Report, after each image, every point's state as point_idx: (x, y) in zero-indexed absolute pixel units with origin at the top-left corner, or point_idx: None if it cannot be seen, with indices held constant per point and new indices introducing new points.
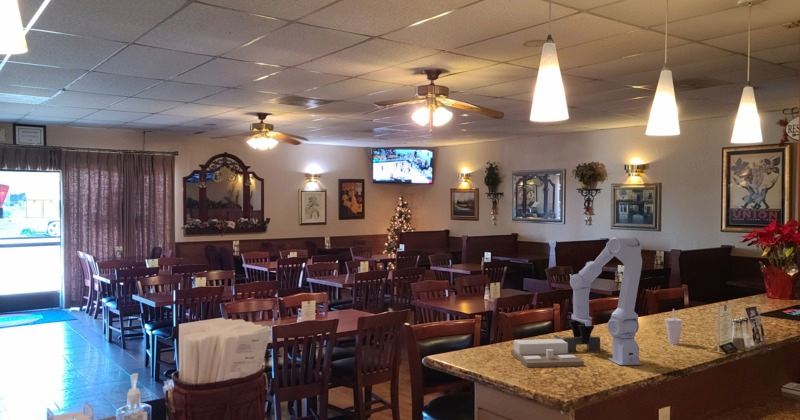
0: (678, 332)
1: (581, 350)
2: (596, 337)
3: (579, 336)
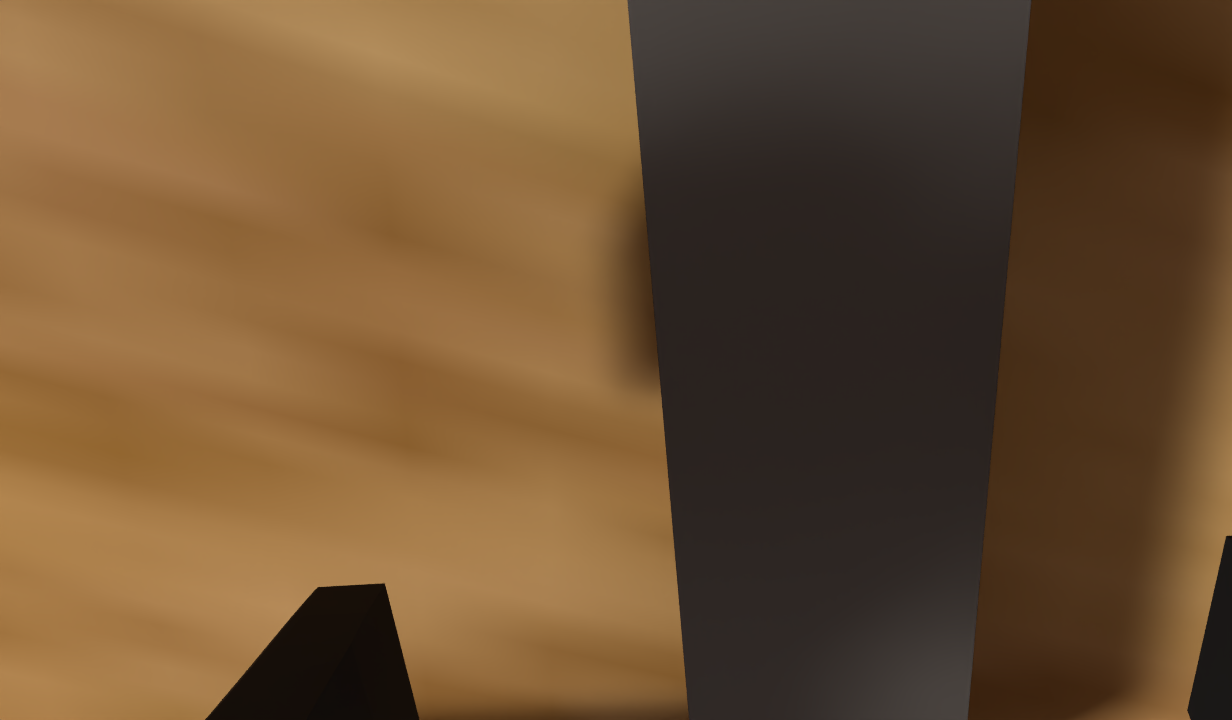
0: None
1: None
2: (995, 38)
3: (362, 708)
